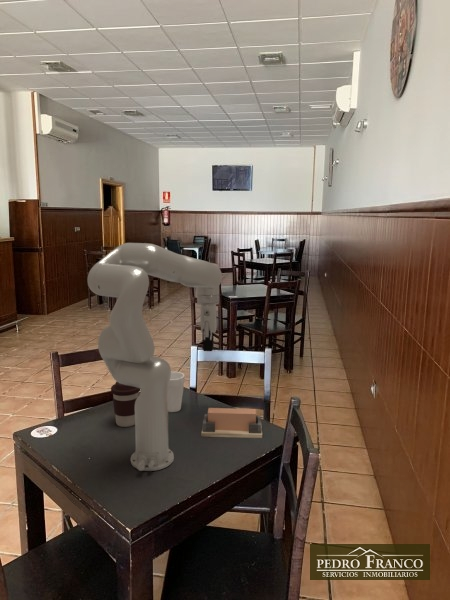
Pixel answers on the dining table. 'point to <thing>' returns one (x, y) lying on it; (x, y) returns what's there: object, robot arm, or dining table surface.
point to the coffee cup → (124, 403)
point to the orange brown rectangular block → (232, 418)
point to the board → (253, 432)
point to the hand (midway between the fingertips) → (208, 350)
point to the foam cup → (175, 391)
